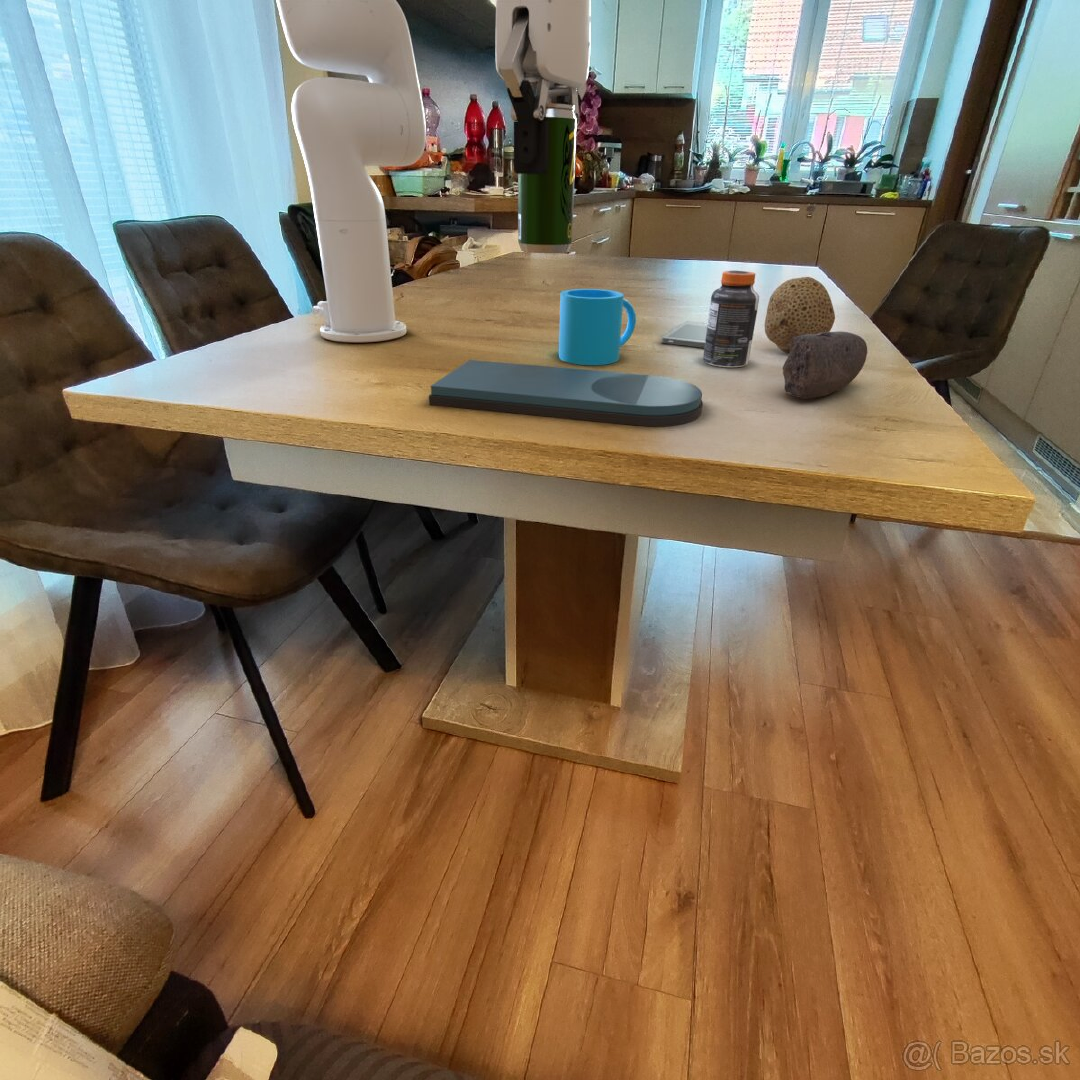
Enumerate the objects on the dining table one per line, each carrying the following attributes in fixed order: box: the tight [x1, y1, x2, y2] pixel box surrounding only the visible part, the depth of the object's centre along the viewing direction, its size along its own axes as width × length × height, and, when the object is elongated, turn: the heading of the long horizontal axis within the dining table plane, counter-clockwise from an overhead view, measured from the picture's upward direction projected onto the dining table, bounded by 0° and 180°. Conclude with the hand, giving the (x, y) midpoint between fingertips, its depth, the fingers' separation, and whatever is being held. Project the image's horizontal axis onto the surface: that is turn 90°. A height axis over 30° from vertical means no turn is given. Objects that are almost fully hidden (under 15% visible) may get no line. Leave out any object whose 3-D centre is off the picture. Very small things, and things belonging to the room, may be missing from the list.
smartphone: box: [661, 320, 708, 349], centre depth 98 cm, size 15×8×1 cm, turn 154°
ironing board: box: [428, 359, 704, 427], centre depth 69 cm, size 28×12×2 cm, turn 75°
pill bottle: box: [702, 270, 760, 368], centre depth 82 cm, size 6×6×11 cm
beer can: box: [517, 102, 577, 254], centre depth 61 cm, size 5×5×12 cm
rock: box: [782, 331, 868, 399], centre depth 72 cm, size 15×5×7 cm, turn 127°
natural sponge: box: [764, 276, 836, 353], centre depth 88 cm, size 9×9×10 cm
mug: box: [558, 288, 637, 366], centre depth 85 cm, size 12×8×8 cm
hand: (545, 171), depth 60 cm, fingers closed on beer can, 5 cm apart
